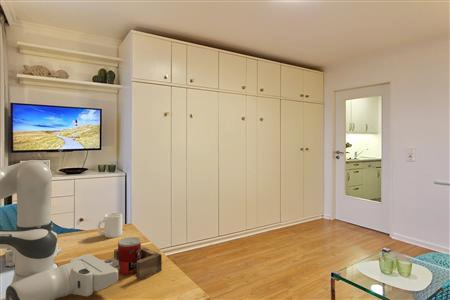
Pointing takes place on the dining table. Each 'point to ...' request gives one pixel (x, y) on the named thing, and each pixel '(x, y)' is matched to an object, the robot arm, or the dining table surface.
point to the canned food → (129, 255)
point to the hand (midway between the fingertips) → (116, 261)
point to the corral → (146, 263)
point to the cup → (111, 225)
